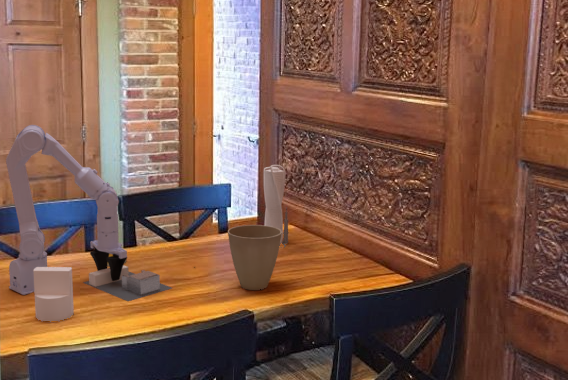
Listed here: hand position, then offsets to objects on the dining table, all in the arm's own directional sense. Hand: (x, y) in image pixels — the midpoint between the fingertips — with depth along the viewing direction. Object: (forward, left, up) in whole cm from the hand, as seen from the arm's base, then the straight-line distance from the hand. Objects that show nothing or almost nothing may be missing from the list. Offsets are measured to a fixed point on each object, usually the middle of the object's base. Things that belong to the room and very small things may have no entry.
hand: (109, 277), depth 211 cm
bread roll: (+11, +14, -2) cm, 18 cm away
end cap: (+2, -12, -1) cm, 13 cm away
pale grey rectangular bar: (0, 0, -1) cm, 1 cm away
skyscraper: (+62, -6, -2) cm, 62 cm away
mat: (+1, -6, -1) cm, 7 cm away
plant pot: (+27, -30, -2) cm, 41 cm away
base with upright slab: (-24, -12, -2) cm, 27 cm away
